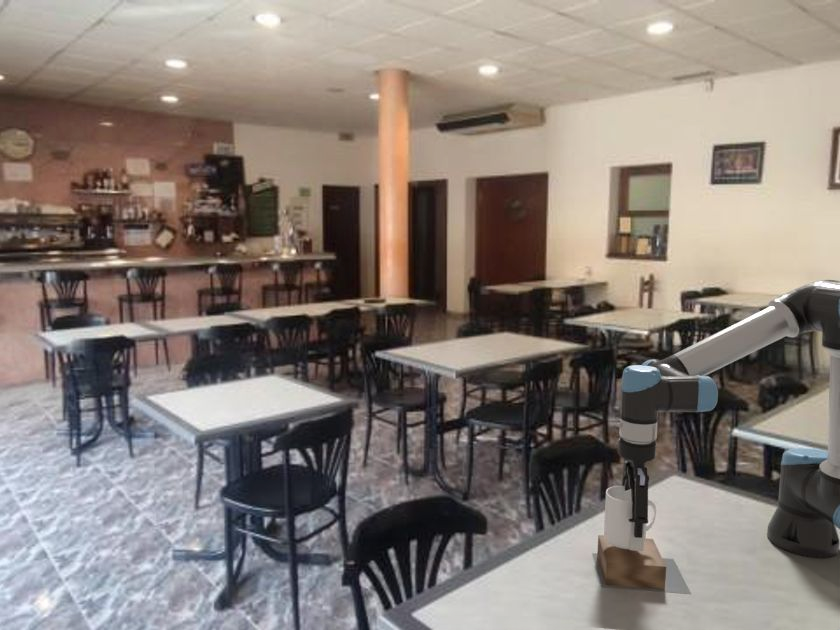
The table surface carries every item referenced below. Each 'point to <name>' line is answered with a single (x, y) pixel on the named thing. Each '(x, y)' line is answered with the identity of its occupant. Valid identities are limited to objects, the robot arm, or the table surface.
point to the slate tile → (672, 584)
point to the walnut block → (632, 565)
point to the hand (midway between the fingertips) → (631, 538)
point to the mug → (621, 516)
